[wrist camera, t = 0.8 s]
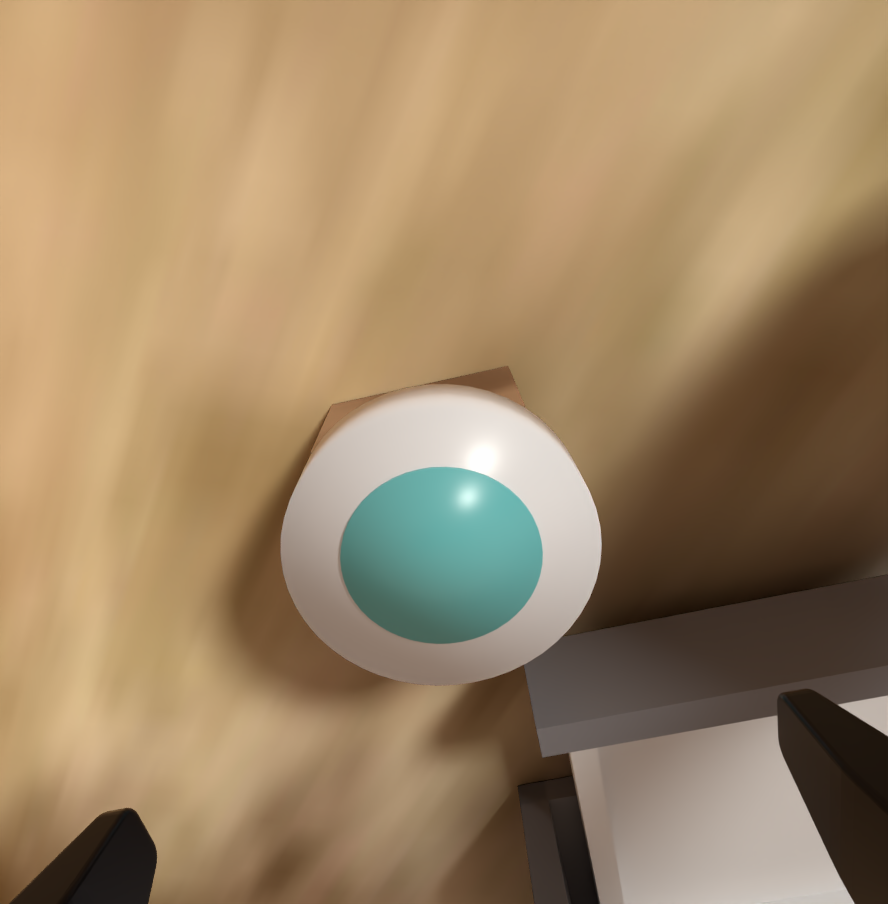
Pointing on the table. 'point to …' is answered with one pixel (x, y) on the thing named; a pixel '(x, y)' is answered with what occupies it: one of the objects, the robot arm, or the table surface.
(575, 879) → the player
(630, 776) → the tray
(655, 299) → the table surface
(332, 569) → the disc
